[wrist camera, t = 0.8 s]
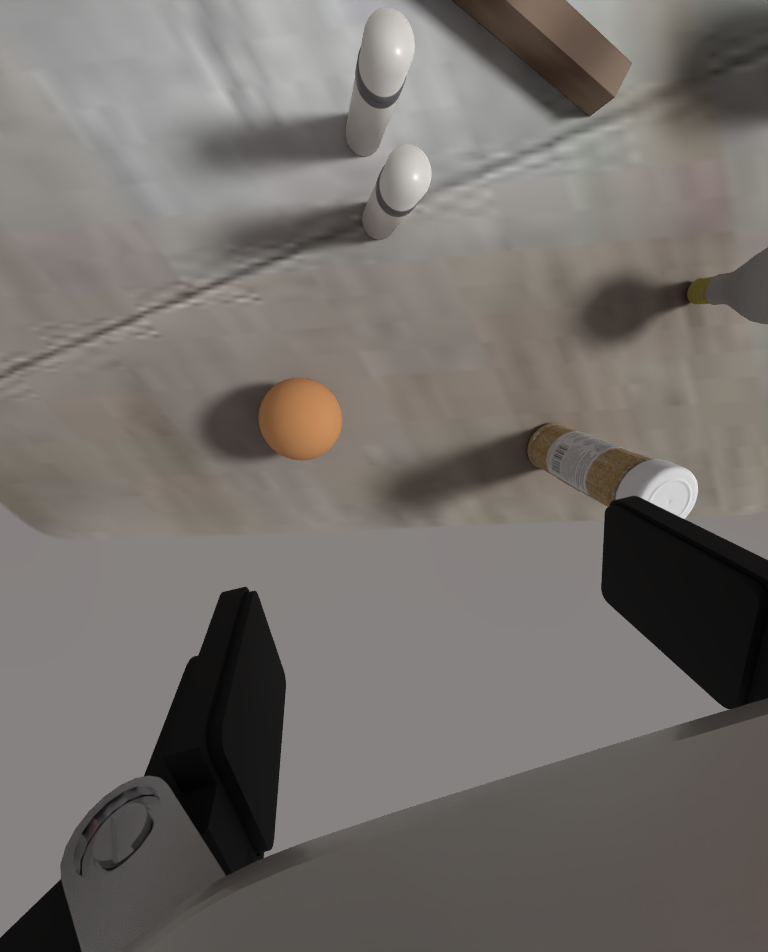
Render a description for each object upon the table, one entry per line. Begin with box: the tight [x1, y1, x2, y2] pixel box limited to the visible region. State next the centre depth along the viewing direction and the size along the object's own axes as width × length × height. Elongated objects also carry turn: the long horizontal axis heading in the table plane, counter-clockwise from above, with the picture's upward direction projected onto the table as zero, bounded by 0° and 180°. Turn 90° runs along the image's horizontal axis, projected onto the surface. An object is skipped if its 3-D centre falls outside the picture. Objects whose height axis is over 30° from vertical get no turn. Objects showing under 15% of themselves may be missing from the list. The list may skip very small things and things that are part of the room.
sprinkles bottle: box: [527, 423, 698, 519], centre depth 31 cm, size 5×5×13 cm
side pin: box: [345, 7, 415, 156], centre depth 22 cm, size 2×2×9 cm
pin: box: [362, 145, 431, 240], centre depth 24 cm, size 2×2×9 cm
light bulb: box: [687, 248, 768, 324], centre depth 30 cm, size 6×6×10 cm
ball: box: [259, 378, 342, 460], centre depth 29 cm, size 6×6×6 cm
